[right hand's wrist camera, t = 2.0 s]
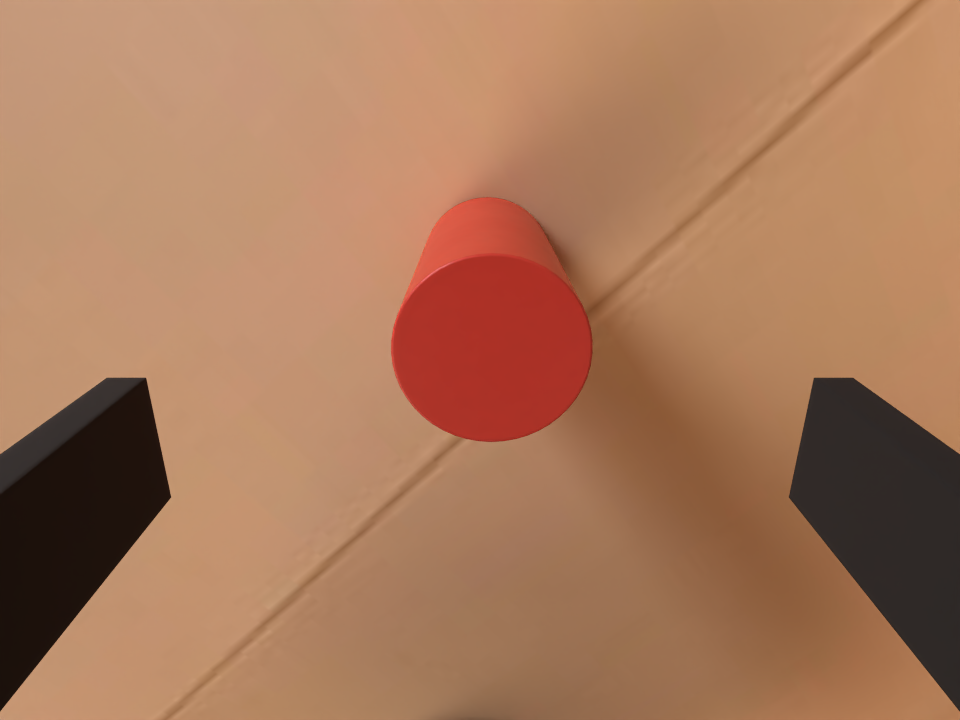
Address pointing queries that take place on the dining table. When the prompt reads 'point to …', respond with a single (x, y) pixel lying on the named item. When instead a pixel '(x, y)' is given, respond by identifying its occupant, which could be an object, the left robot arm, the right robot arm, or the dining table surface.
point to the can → (490, 326)
